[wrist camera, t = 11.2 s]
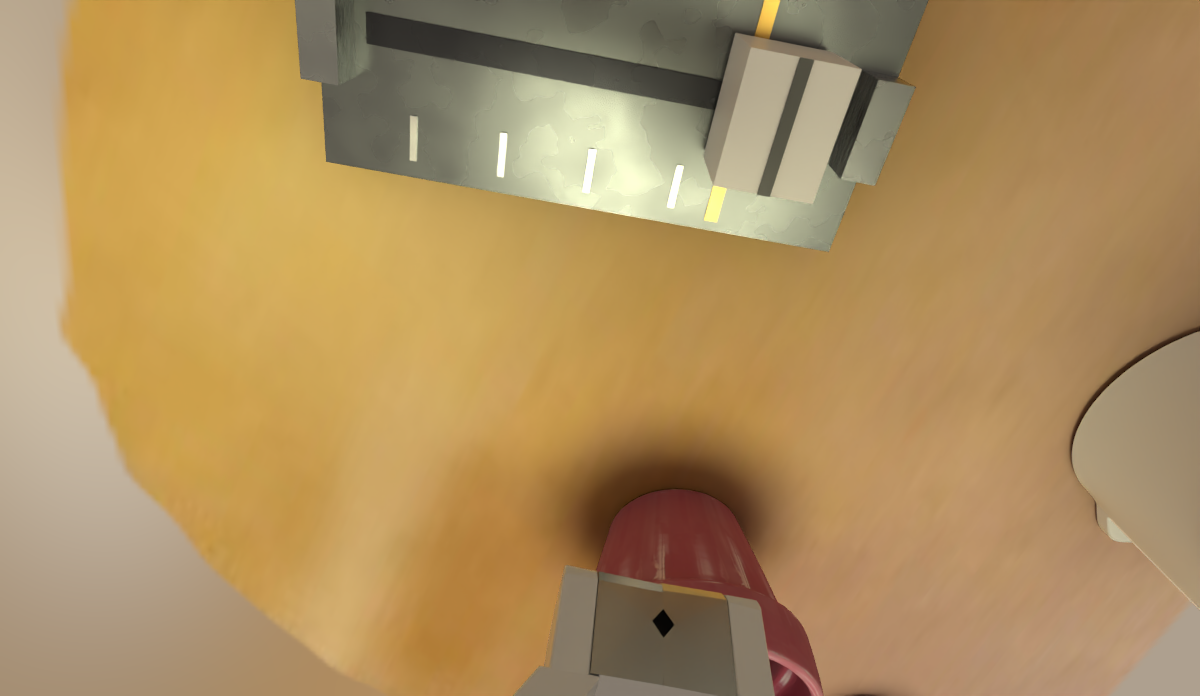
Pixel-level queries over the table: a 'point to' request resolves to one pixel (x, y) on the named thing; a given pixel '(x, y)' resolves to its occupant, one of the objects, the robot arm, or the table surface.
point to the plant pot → (708, 570)
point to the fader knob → (777, 118)
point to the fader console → (593, 99)
